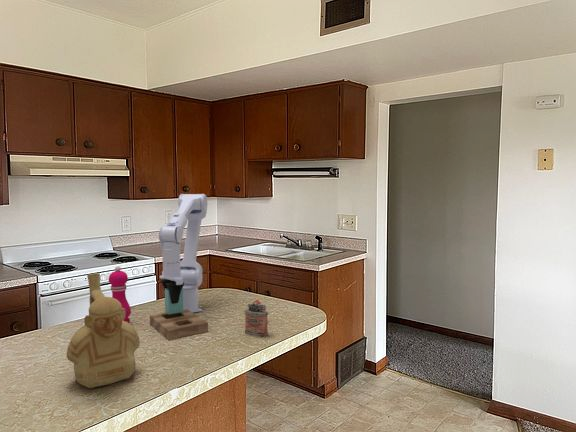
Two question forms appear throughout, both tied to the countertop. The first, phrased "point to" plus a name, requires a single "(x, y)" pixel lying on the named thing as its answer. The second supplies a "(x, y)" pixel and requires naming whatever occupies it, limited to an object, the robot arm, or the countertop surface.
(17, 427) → the countertop surface
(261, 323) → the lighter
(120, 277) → the pepper mill
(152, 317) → the socket board
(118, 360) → the ceramic vessel
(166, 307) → the teal cuboid tower
